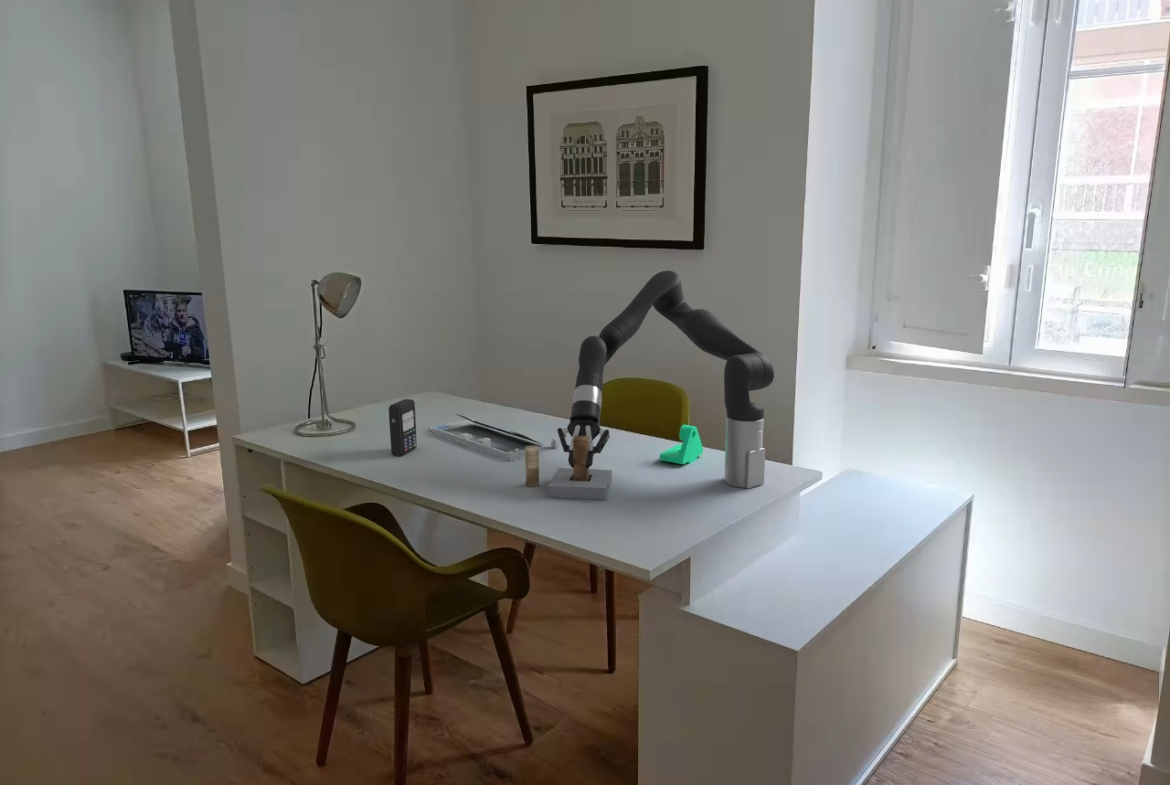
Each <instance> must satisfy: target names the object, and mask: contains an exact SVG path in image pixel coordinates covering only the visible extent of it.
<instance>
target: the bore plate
mask: <svg viewBox="0 0 1170 785" xmlns="http://www.w3.org/2000/svg"><path fill="white" fill-rule="evenodd" d="M612 482H613V470H612V469H596V468H594V469H593V468H589V481H573V467H558V468H557V469H556V471H555V473H554V475H553V476H552V479H551V480H550V482H549V483H548V487H547V490H548V491H547V493H548V498H554V497H560V498H561V499H575V500H576V499H579V500H580V499H581V500H600V501H605V500H606V499H607V496H608V494H609V490H610V487H611V485H612ZM560 498H559V499H560Z"/></svg>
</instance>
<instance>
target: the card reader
mask: <svg viewBox="0 0 1170 785" xmlns="http://www.w3.org/2000/svg"><path fill="white" fill-rule="evenodd" d="M388 422H389V423H388V424H389V435H390V450H391V455H393V457H403V456H405V455H407V454H408V453H410V452H413V451H414V450H415V449H416V448H417V445H418V444H417V442H418V441H417V425H416V424H417V420H416V403H415V400H414V399H412V398H411V399H409V398H404V399H402V400H400V401H397V402H394V403H392V404H390V406H389V407H388Z"/></svg>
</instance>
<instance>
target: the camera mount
mask: <svg viewBox="0 0 1170 785" xmlns="http://www.w3.org/2000/svg"><path fill="white" fill-rule="evenodd" d="M679 439H680V440H681V441H682V443H681V444H679V443H678V444H676V445H674V446H672V447H670V448H668V449H666V450H664V451H662V452H660V454H659V460H660V461H664V462H671V463H675V464H680V465H686V464H688V465H690V464H692V463H694V462H696V461H697V460H698V457H699V456H701V455H702V454H703V453H704V447H703V444H702V441H701V437H700V434H699V431H698V428H697V427H696V425H695V426H693V425H688V424H682V425H681V427H680V429H679Z"/></svg>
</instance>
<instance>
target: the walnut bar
mask: <svg viewBox="0 0 1170 785" xmlns="http://www.w3.org/2000/svg"><path fill="white" fill-rule="evenodd" d="M588 441H589V436H575V437H574V439H573V458H574V467H572V468H573V481H589V469H590V468H586V459H587V453H588Z"/></svg>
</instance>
